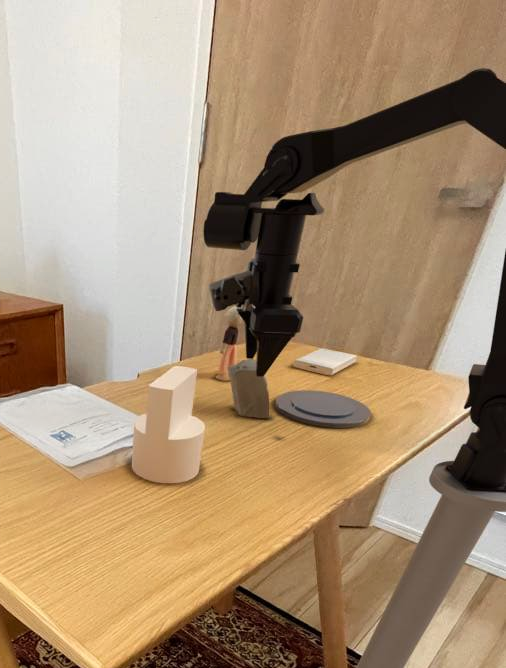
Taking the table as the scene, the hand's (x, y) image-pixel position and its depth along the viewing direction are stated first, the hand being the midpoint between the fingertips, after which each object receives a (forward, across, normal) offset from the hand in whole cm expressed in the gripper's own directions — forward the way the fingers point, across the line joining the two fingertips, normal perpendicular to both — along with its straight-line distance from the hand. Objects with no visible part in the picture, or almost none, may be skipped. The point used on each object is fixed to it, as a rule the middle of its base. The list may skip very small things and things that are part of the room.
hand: (254, 366), depth 78 cm
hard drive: (+8, -28, +21) cm, 36 cm away
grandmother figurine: (+8, -18, -1) cm, 20 cm away
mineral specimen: (+8, 0, 0) cm, 8 cm away
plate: (+7, -2, +13) cm, 15 cm away
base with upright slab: (+8, +21, -14) cm, 26 cm away
